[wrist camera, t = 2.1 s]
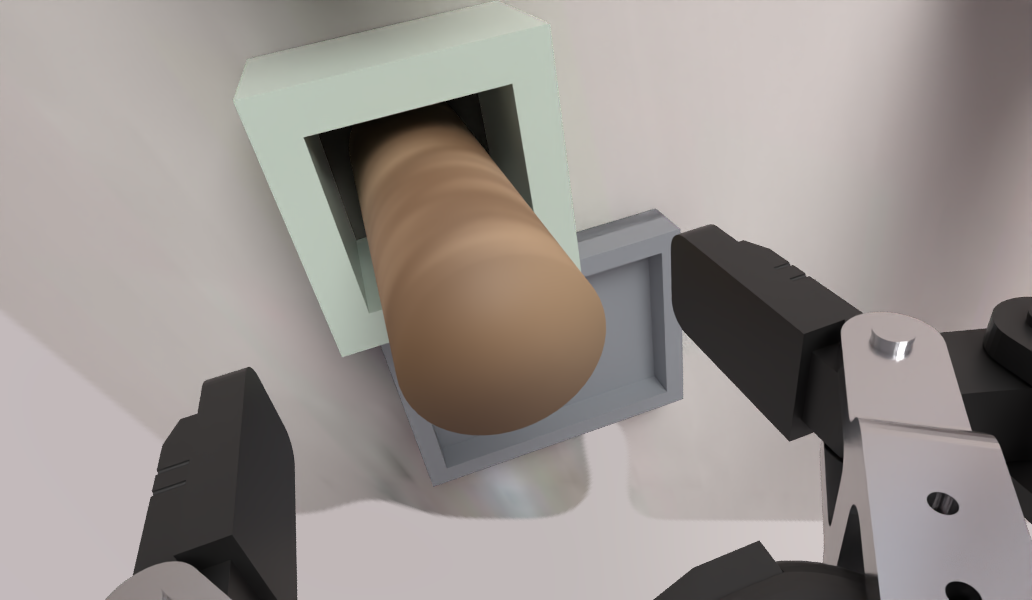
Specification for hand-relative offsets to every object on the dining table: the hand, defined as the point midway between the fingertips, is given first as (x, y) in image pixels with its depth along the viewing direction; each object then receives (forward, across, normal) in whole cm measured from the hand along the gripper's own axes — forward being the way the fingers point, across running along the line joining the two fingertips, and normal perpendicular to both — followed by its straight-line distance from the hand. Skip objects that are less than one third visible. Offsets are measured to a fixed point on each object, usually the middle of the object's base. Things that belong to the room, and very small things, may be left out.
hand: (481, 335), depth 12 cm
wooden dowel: (+12, 0, 0) cm, 12 cm away
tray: (+11, -4, +10) cm, 15 cm away
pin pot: (+12, 0, 0) cm, 12 cm away
